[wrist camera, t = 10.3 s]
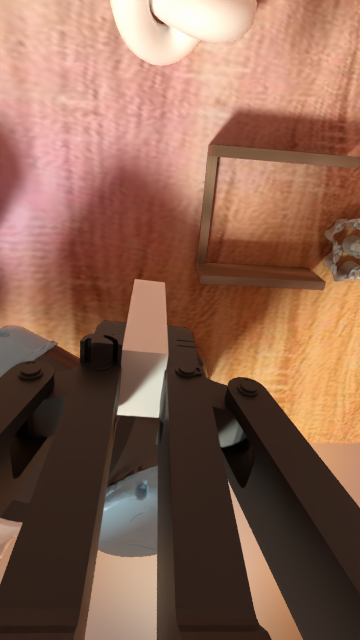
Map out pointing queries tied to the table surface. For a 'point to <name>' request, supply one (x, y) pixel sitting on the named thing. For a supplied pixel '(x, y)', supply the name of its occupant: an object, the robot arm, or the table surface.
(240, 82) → the table surface
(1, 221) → the table surface
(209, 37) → the white knot sculpture
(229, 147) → the brown u-shaped frame
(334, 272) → the egg carton
